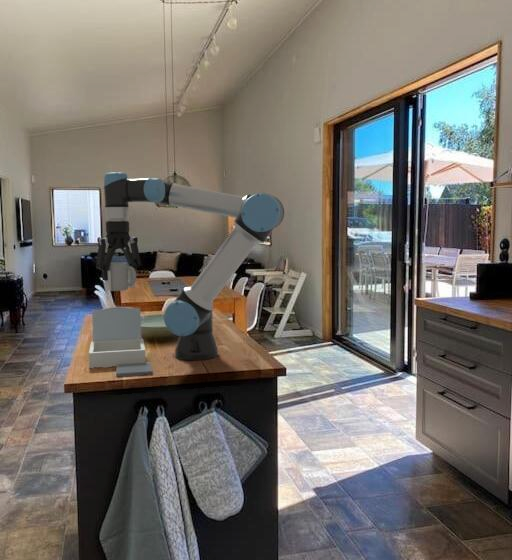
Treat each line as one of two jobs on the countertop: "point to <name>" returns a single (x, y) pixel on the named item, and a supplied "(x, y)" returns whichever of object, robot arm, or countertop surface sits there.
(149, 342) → the countertop surface
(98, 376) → the countertop surface
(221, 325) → the countertop surface
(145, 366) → the slate tile
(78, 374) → the countertop surface
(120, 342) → the cold frame
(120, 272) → the cup
